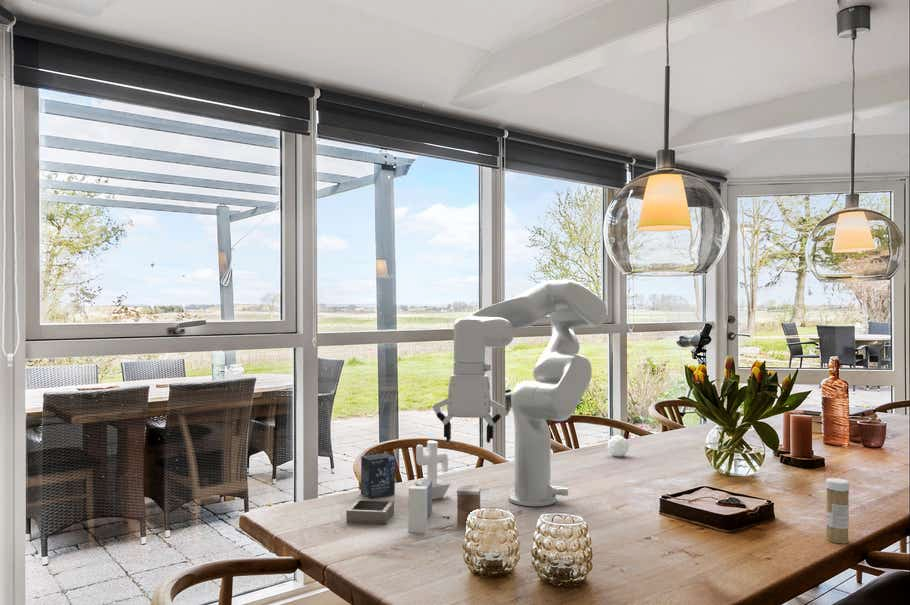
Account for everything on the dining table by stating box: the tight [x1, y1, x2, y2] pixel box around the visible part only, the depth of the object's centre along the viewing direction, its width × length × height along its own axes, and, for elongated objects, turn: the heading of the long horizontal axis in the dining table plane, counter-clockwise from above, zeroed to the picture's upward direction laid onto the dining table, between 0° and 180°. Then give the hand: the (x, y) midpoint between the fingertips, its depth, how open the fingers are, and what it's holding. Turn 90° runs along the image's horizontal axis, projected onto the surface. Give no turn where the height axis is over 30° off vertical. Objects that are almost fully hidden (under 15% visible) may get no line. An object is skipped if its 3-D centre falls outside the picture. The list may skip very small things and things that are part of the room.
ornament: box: [606, 435, 630, 458], centre depth 233 cm, size 7×7×8 cm
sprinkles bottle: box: [825, 477, 851, 544], centre depth 150 cm, size 5×5×14 cm
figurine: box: [414, 439, 451, 500], centre depth 183 cm, size 7×9×15 cm
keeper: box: [345, 498, 395, 526], centre depth 165 cm, size 10×10×3 cm
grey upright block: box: [407, 478, 433, 534], centre depth 162 cm, size 4×16×10 cm, turn 173°
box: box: [360, 452, 396, 500], centre depth 185 cm, size 8×6×11 cm
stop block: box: [456, 484, 482, 526], centre depth 162 cm, size 5×5×8 cm
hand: (468, 441), depth 162 cm, fingers open, 9 cm apart
